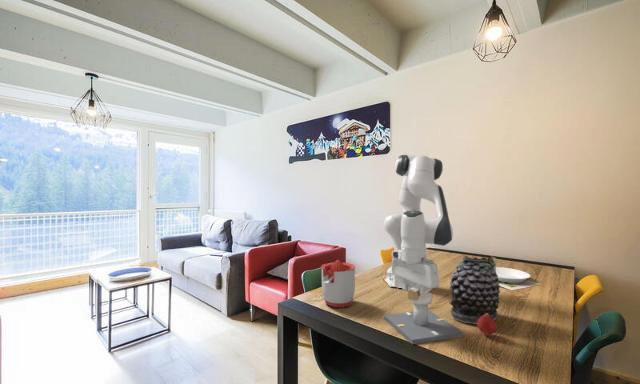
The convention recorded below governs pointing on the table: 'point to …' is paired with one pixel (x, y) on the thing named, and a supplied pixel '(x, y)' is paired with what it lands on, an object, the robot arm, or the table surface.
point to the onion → (486, 325)
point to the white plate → (511, 275)
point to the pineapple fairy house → (475, 289)
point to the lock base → (422, 330)
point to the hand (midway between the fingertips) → (414, 293)
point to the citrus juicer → (338, 283)
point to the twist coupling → (415, 297)
